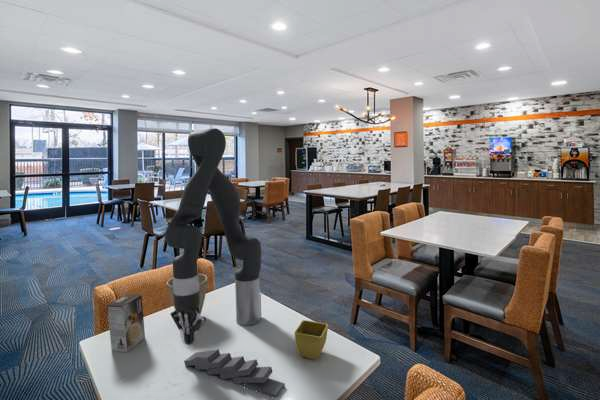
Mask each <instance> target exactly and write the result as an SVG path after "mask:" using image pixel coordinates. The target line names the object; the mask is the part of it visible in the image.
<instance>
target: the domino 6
mask: <svg viewBox="0 0 600 400" xmlns="http://www.w3.org/2000/svg"><path fill="white" fill-rule="evenodd" d="M285 386H286V385H285V383H284V382H282V381H279V380H275V379H272V378H269V377H268V379H267V380H266V381H265V383H243V388H244V387H245V388H244V389H246V388H248V389H247V390H249V389H251V390H250V391H252V390H254V391H253V392H255V391H257V392H256V393H258V392H260V393H259V394H261V393H262V394H261V395H264V394H265V396H267V395H268V396H267V397H269V396H270V398H272V397H273V399H275V398H276V399H277V398H278V396H279V395H280V394H281V393H282V391H283V390H284V388H285Z"/></svg>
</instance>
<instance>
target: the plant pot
mask: <svg viewBox="0 0 600 400" xmlns="http://www.w3.org/2000/svg"><path fill="white" fill-rule="evenodd" d="M198 278H199V290H200V303H199V306H198V308H199V310H200V315H201V314H202V311H203V307H204V303H205V300H206V299H205V298H206V294H207V293H206V292H207V286H208V284H207V283H208V276H207V275H206V274H203V273H198ZM166 284H167V288H168V293H169V296H170V301H171V303H172V305H173V308H174V311H175V310H176V307H175V306H174V294H173V277H171V278H170V279H168V281H167V282H166ZM201 316H202V315H201Z"/></svg>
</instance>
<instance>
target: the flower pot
mask: <svg viewBox="0 0 600 400" xmlns="http://www.w3.org/2000/svg"><path fill="white" fill-rule="evenodd" d="M328 331H329V324H328V323H323V322H317V321H311V320H304V319H303V320H301V322H300V324H299V326H297V328H296V329H295V331H294V338H295V345H296V346H295V347H296V349H297V351H298V353H299V355H300V356H301V357H303V358H306V359H310V360H316V361H317V360H318V359H319V357H320V355H321V354H322V351H323V349H324V348H325V345H326V342H327V338H328V337H327V336H328Z"/></svg>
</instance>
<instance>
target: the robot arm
mask: <svg viewBox="0 0 600 400" xmlns="http://www.w3.org/2000/svg"><path fill="white" fill-rule="evenodd" d="M187 145H188V150H189V152H190V154H191V157H192V159H193V160H194V162H195V165H196V166H197V169H196V171H195V172H194V174H193V175H192V176H191V178H190V179H189V180H188V182H187V183H186V185H185V186H184V189H183V191H182V194H181V198H180V201H179V206H178V209H177V210H176V212H175V214H174V215H173V217H172V218H171V220H170V222H169V224H168V225H167V227H166V230H165V234H164V238H165V239H164V240H165V242H166V245H167V246H169V247H170V248H173V249H174V248H175V249H183V250H184V251H183V254H181V255H177V256H175V257H174V258H173V260H172V275H173V276H172V278H173V294H174V305H173V307H174V306H175V307H176V310H175V309H174V310H173V311H172V312H170V316H171V318H172V320H173V321H174V323H175V325H176V327H177V329H178V331H179V330H180V331H182V333H183V341H184V344H185V345H187V346H190V345H192V344H193V343H194V342H195V333H196V332H199V330H200V329H201V327H202V326H203V325H204V323H206V320H207V317H206V316H202V315H200V310H199V308H198V306H199V303H200V290H199V278H198V274H199V272H198V270H199V268H198V267H199V266H198V259H199V254H200V250H201V246H202V241H203V235H202V232H201V229H200V228H199V227H198V226H196V225H190V222H192V221H194V220H198V219H200V218H201V217H202V215H203V214H202V213H203V212H204V207H205V202H206V199H207V195H208V192H209V196H210V198H211V202H212V203H213V206H214V209H215V211H216V213H217V216H218V219H219V221H220V224H221V227H222V230H223V231H224V236H225V240H226V242H227V244H226V245H227V247H228V250H229V253H230V255H231V256H232V257H233V259H236V260H240V261H242V267H239V268H238V269H236V270H235V272H234V284H235V286H234V289H235V315H236V317H235V318H236V319H235V320H236V323H237V324H238V325H241V326H254V325H256V324H258V323H259V322H260V321H261V317H262V294H261V293H260V292H261V290H260V289H261V288H260V272H261V268H262V246H261V242H260V240H259V239H258V238H256V237H252V236H247V235H244V233H243V231H242V228H241V225H240V216H241V212H242V202H241V199H240V196H239V193H238V190H237V188H236V186H235V185H234V183H233V182H232V181H231V180H230V179H229V178H228V177H227V176H226V175H225V174H224V173H223V172H222V171H221V170H220V169H219V165H220V162H221V160H222V159H223V156H224V154H225V150H226V145H227V141H226V136H225V135H224V133H223V132H222V130H220V129H218V128H206V129H198V130H194V131H192V132H191V133H189V134H188V137H187Z"/></svg>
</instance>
